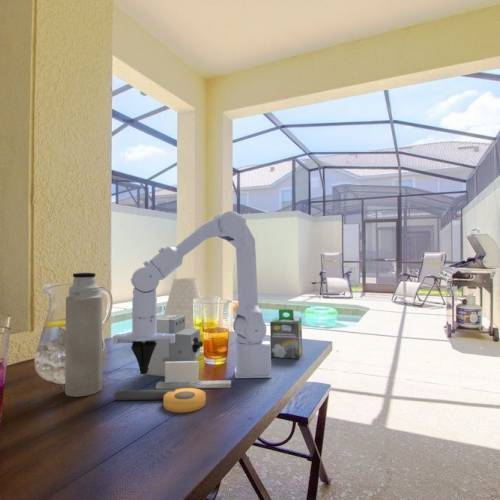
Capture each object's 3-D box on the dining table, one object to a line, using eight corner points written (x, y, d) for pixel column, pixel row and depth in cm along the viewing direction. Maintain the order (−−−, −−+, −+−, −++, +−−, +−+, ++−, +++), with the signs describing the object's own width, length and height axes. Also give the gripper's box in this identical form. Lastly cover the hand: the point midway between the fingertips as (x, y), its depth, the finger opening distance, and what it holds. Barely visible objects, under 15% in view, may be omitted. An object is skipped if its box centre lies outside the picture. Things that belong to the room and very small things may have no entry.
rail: (231, 384, 93) (231, 380, 93) (231, 387, 90) (231, 383, 90) (157, 385, 92) (157, 381, 92) (155, 389, 89) (155, 385, 89)
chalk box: (302, 352, 124) (302, 307, 124) (299, 359, 115) (299, 311, 115) (275, 350, 126) (274, 306, 126) (269, 357, 117) (269, 310, 117)
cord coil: (207, 395, 85) (207, 387, 85) (204, 411, 76) (204, 402, 76) (167, 396, 85) (167, 388, 85) (159, 413, 76) (159, 403, 76)
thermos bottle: (83, 383, 94) (83, 271, 94) (109, 386, 91) (109, 272, 92) (57, 394, 86) (58, 273, 87) (84, 398, 84) (85, 273, 84)
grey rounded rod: (178, 397, 84) (178, 388, 84) (176, 400, 82) (176, 391, 82) (115, 398, 84) (115, 389, 84) (112, 401, 82) (112, 392, 82)
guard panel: (198, 380, 91) (198, 361, 92) (198, 381, 91) (198, 362, 91) (165, 381, 91) (165, 361, 91) (164, 382, 90) (165, 362, 90)
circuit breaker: (196, 378, 98) (196, 320, 98) (146, 374, 100) (146, 319, 101) (205, 369, 105) (205, 316, 105) (158, 366, 108) (158, 314, 108)
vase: (154, 341, 139) (154, 280, 140) (172, 332, 156) (172, 277, 157) (199, 343, 136) (199, 280, 137) (212, 333, 154) (212, 277, 154)
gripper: (108, 319, 86) (108, 378, 86) (172, 319, 87) (171, 377, 87) (118, 314, 93) (117, 369, 93) (176, 314, 94) (176, 368, 94)
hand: (144, 372), depth 90 cm, fingers closed
